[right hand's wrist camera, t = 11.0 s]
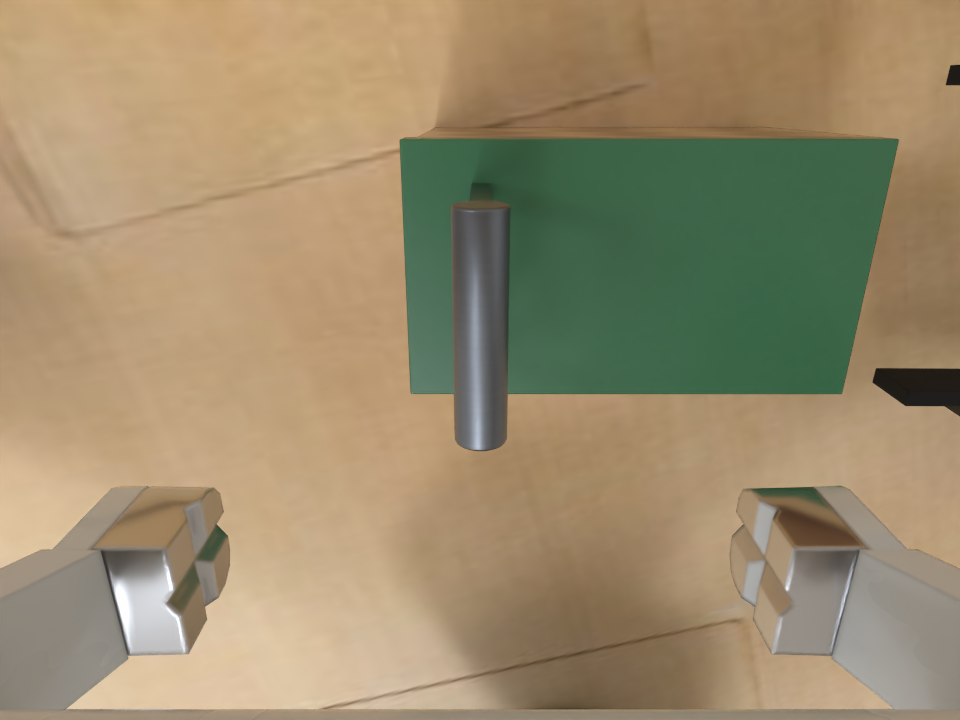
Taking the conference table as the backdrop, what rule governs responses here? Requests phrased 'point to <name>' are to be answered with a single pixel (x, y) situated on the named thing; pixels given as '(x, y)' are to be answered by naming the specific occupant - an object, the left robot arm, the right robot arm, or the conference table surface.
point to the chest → (626, 132)
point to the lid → (634, 266)
